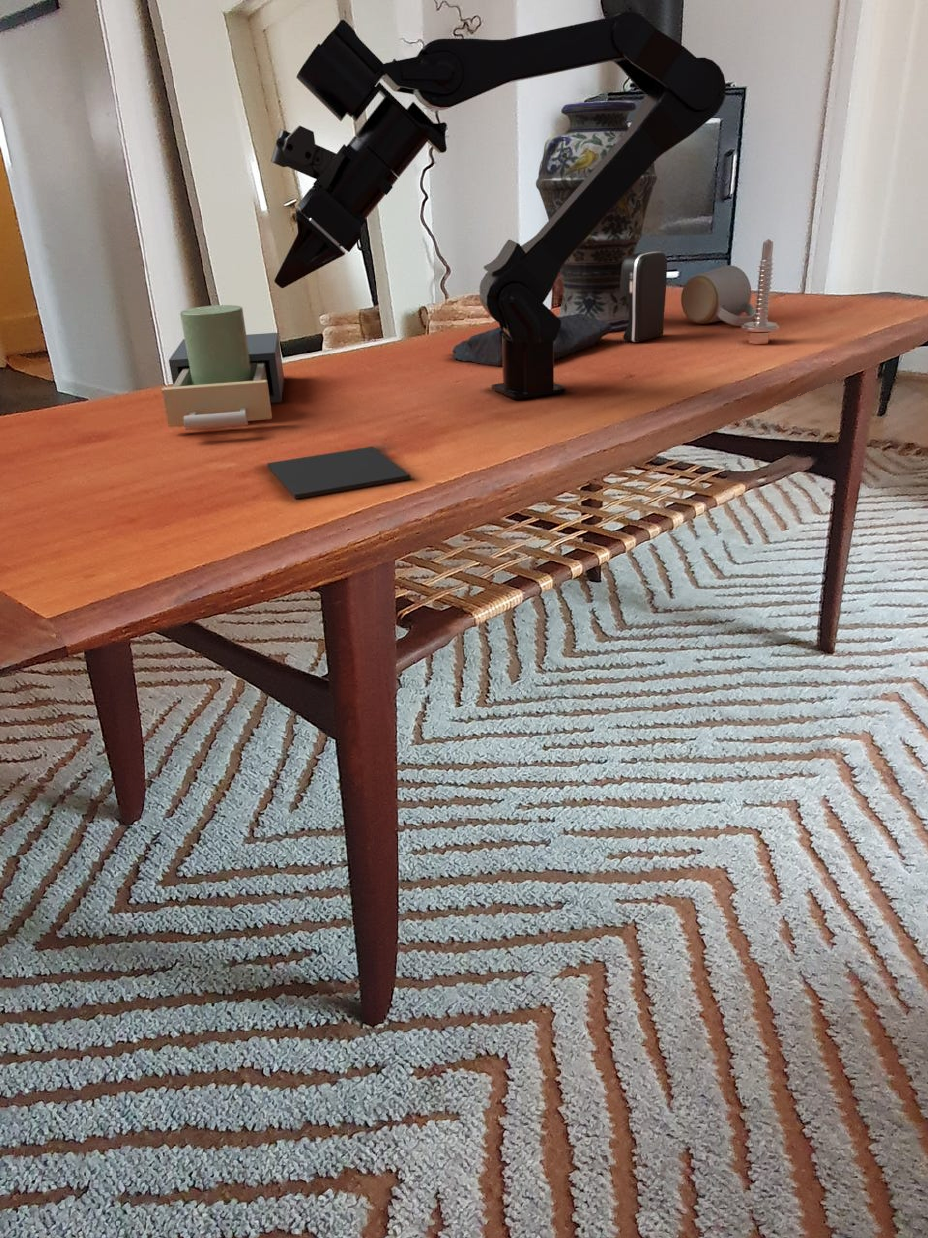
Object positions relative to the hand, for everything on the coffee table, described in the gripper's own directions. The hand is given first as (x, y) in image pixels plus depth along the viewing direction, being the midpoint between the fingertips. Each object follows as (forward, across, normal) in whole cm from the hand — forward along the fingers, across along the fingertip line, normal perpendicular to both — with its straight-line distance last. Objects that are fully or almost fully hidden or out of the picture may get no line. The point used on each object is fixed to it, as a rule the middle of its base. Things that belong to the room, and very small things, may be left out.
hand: (280, 279), depth 98 cm
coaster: (+6, +25, +13) cm, 29 cm away
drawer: (+14, +4, +4) cm, 15 cm away
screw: (-34, -19, +53) cm, 65 cm away
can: (+14, 0, +3) cm, 14 cm away
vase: (-21, -40, +40) cm, 60 cm away
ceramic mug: (-34, -36, +54) cm, 73 cm away
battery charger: (-24, -27, +43) cm, 56 cm away
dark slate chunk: (-13, -24, +32) cm, 42 cm away
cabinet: (+15, -10, +4) cm, 19 cm away
